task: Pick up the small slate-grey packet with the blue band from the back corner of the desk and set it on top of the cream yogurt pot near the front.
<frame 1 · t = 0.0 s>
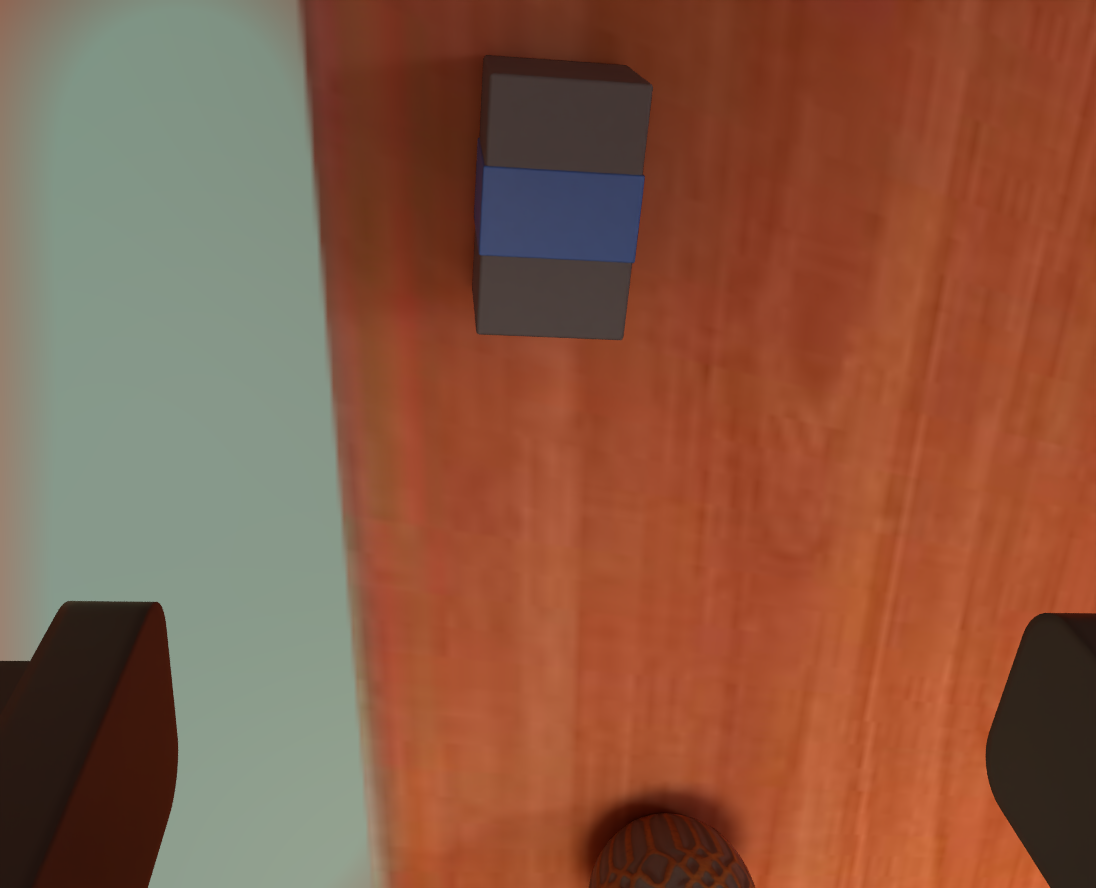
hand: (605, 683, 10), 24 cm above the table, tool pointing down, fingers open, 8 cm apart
vase: (656, 842, 45), on the table
packet: (546, 182, 31), on the table
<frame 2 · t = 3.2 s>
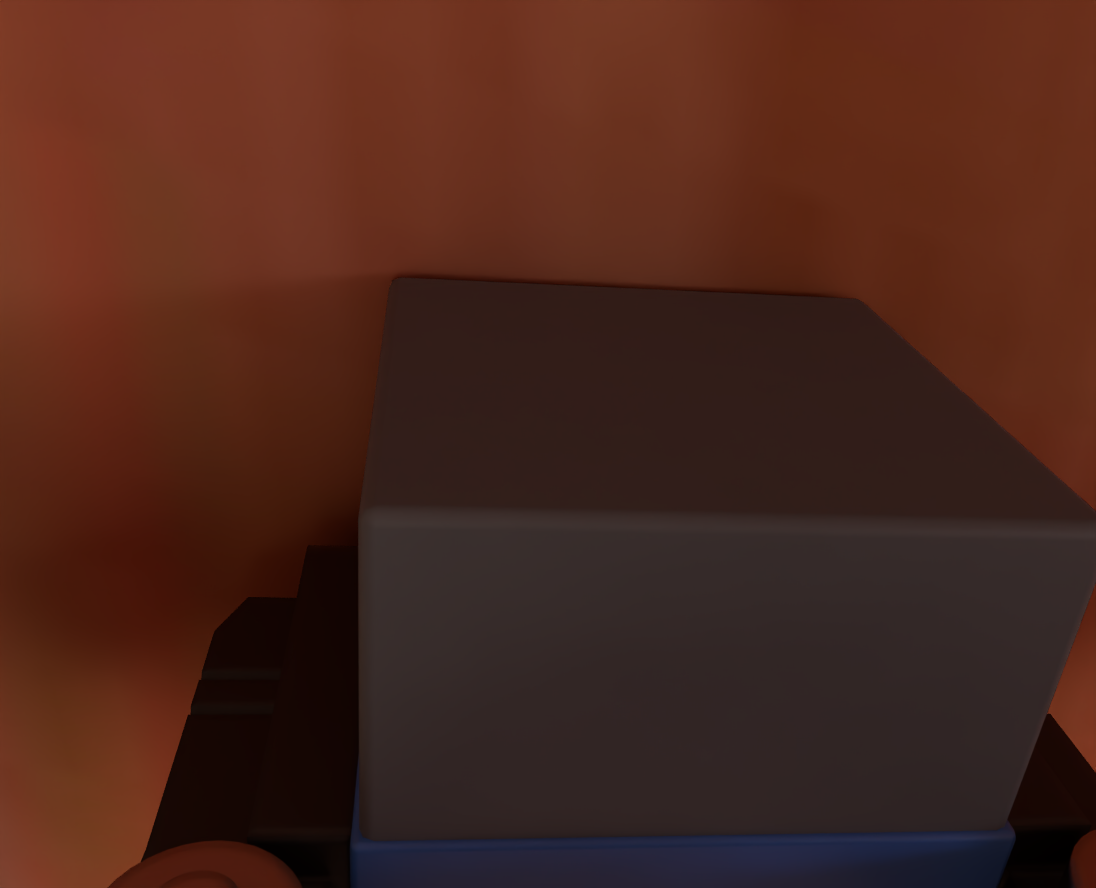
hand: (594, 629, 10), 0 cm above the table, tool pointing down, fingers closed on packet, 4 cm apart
packet: (593, 613, 11), on the table, touching gripper
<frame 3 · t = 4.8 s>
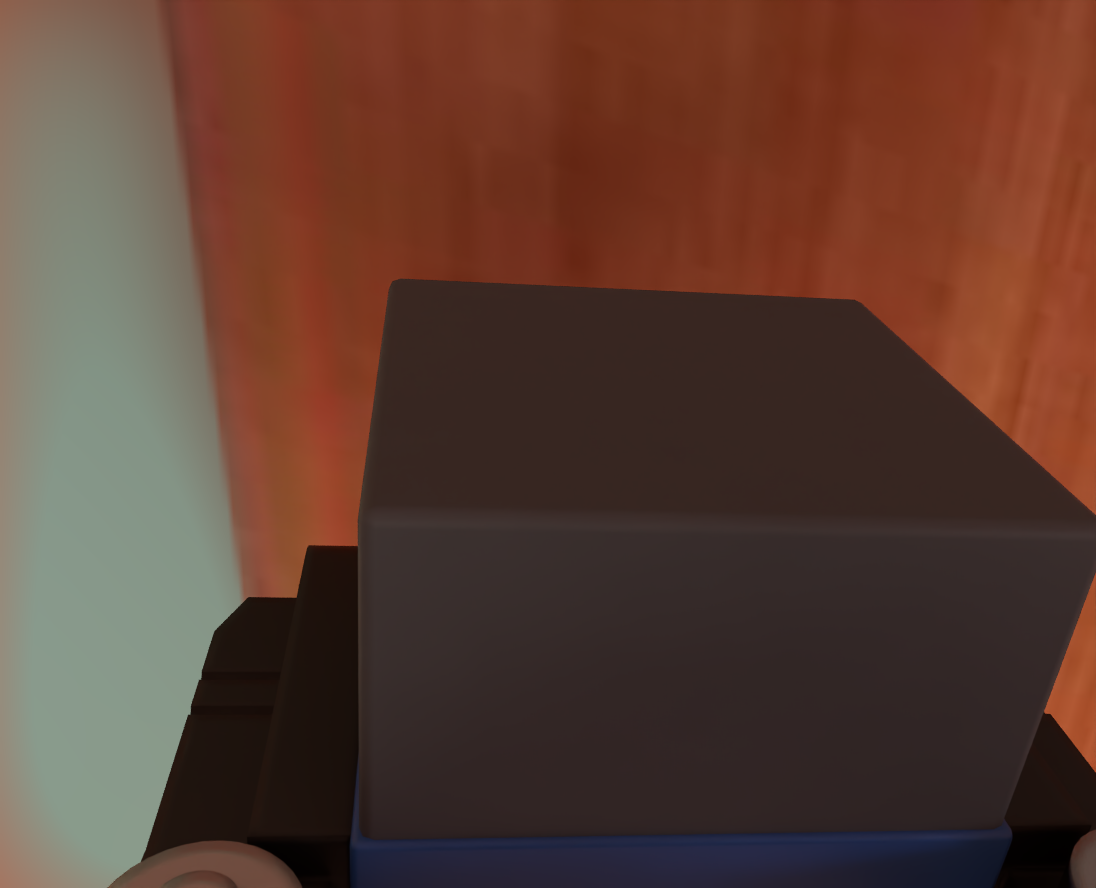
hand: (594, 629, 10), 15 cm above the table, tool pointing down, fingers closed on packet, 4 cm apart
packet: (592, 613, 11), point 14 cm above the table, touching gripper
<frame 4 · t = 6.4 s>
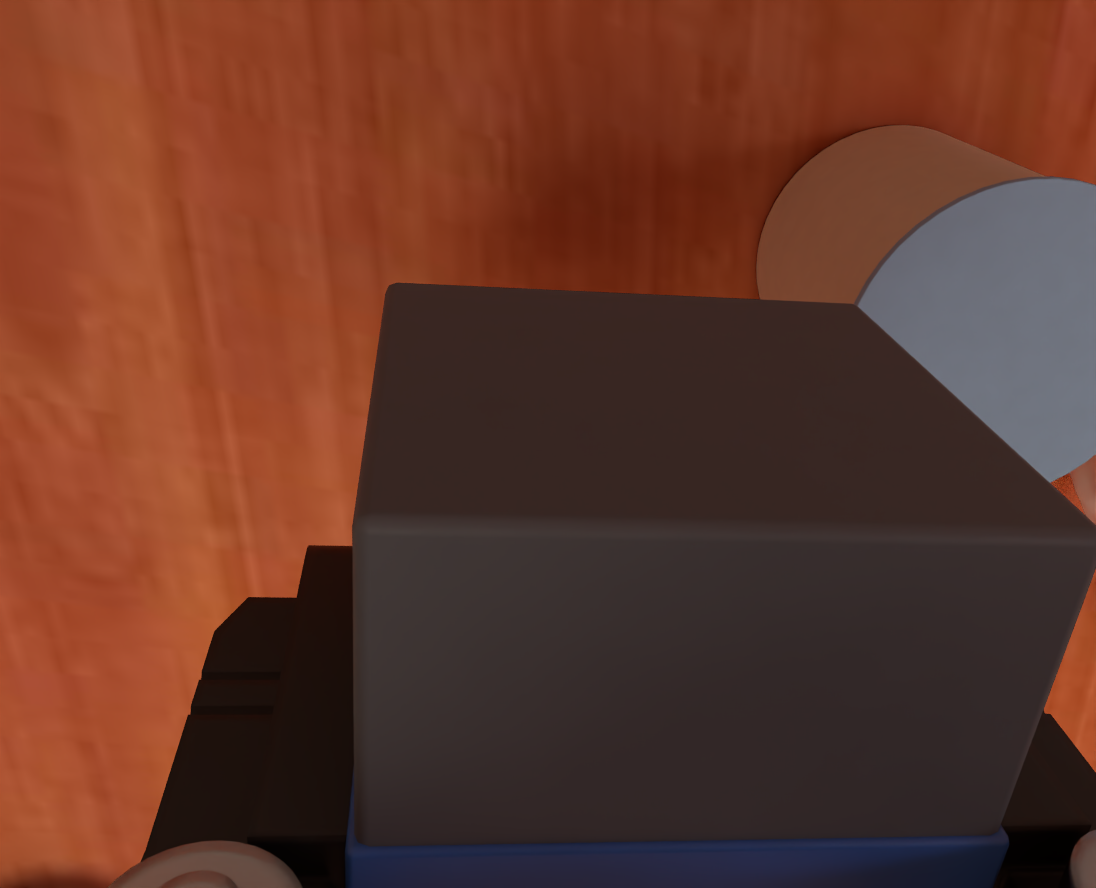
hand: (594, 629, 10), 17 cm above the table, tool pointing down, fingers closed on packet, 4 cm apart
yogurt: (878, 253, 27), on the table
packet: (590, 617, 11), point 17 cm above the table, touching gripper
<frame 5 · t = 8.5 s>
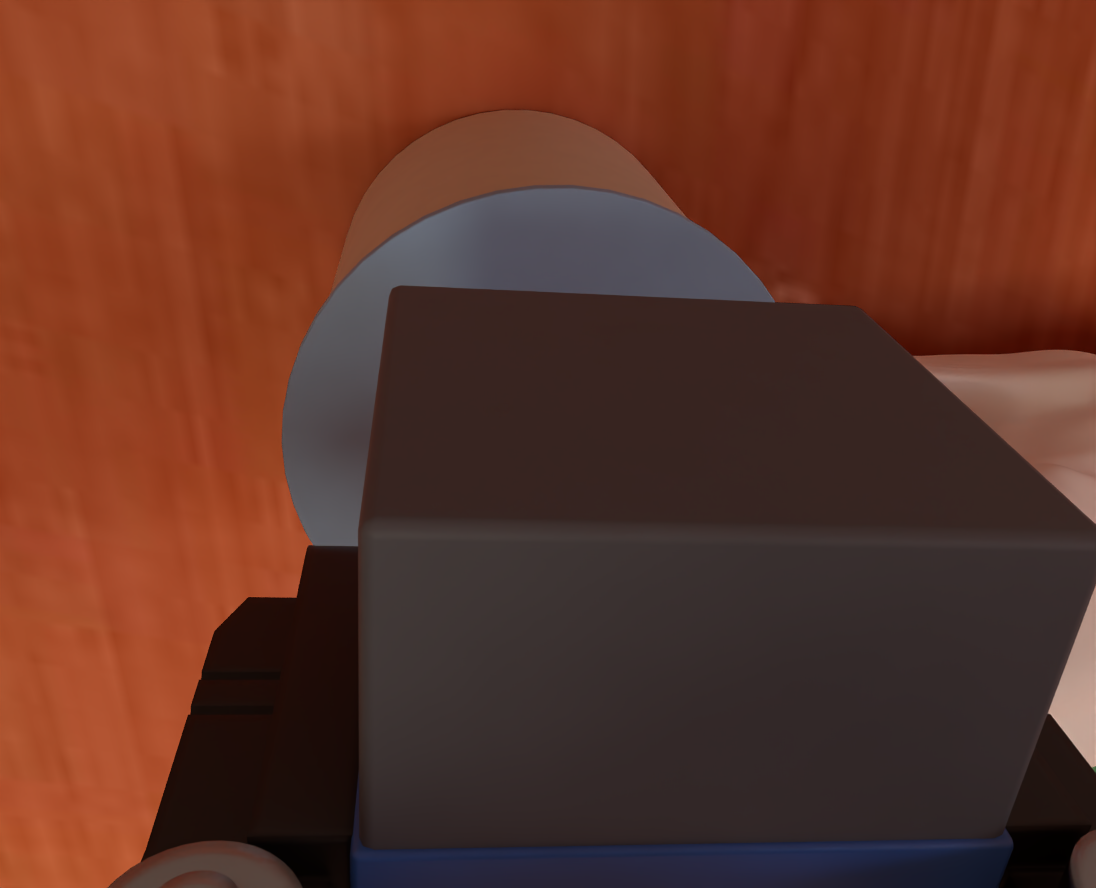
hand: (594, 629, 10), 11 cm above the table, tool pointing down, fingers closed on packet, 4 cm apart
white lumpy elongated piece: (979, 420, 22), on the table
yogurt: (515, 286, 20), on the table
packet: (593, 619, 11), point 11 cm above the table, touching gripper
when the fingers open (7 cm above the table, at t = 9.9 s): packet stays where it is, resting on yogurt.
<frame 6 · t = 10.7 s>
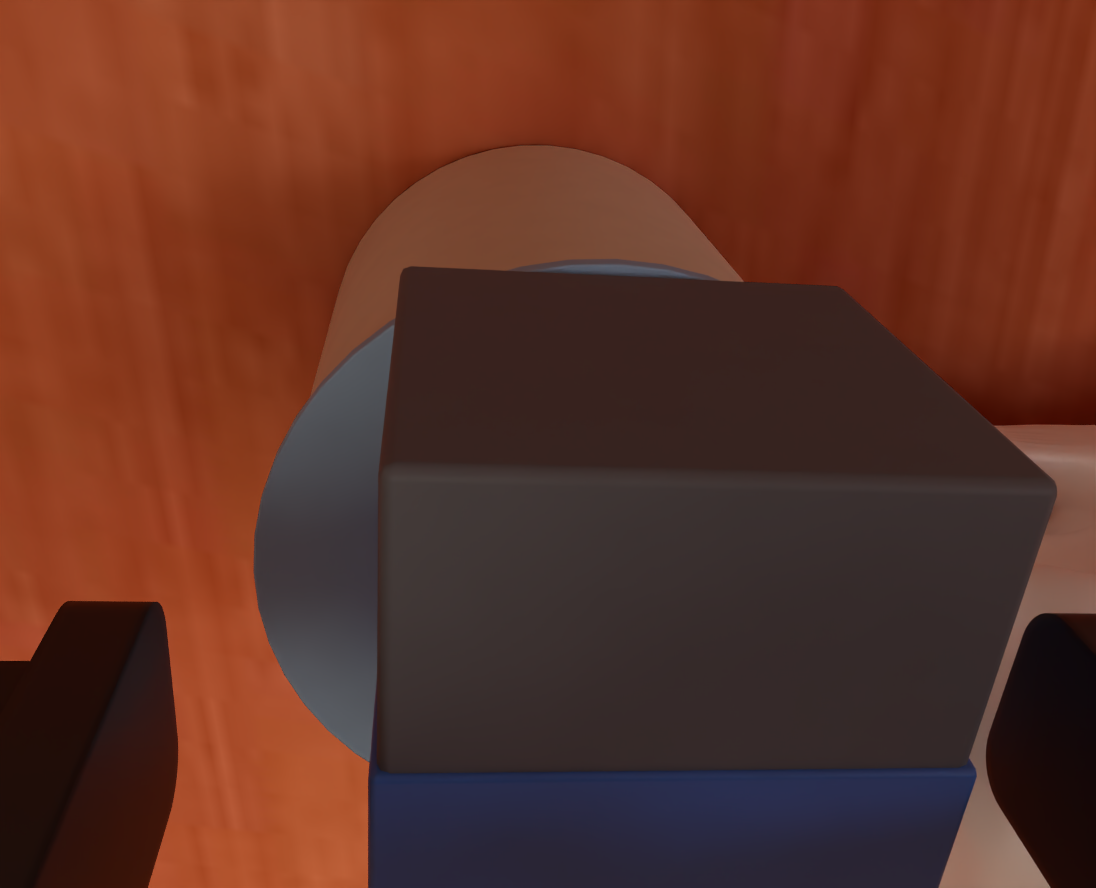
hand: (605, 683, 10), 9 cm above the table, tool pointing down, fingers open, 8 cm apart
white lumpy elongated piece: (1056, 489, 20), on the table
yogurt: (532, 344, 17), on the table, touching packet
packet: (591, 585, 11), point 7 cm above the table, touching yogurt
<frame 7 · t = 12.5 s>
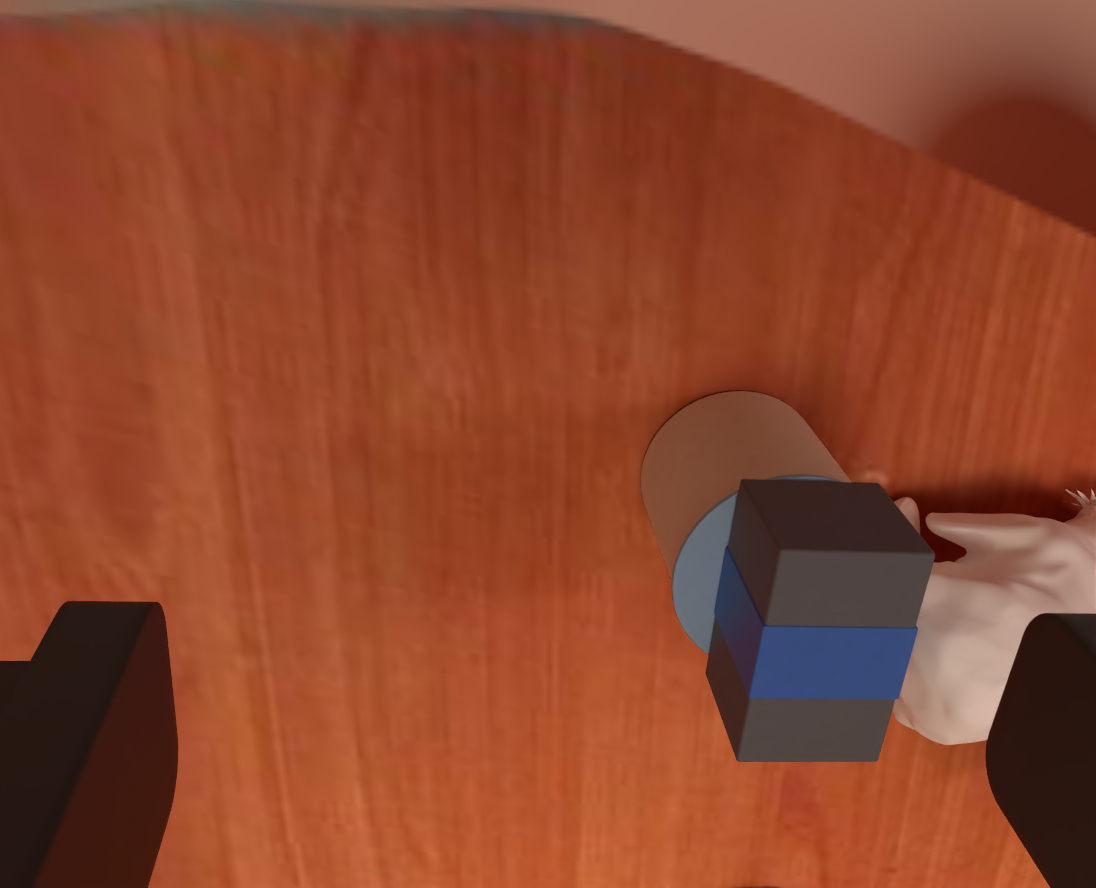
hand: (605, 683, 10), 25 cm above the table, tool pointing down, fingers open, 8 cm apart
white lumpy elongated piece: (976, 540, 40), on the table
yogurt: (729, 473, 38), on the table, touching packet
packet: (788, 581, 32), point 7 cm above the table, touching yogurt
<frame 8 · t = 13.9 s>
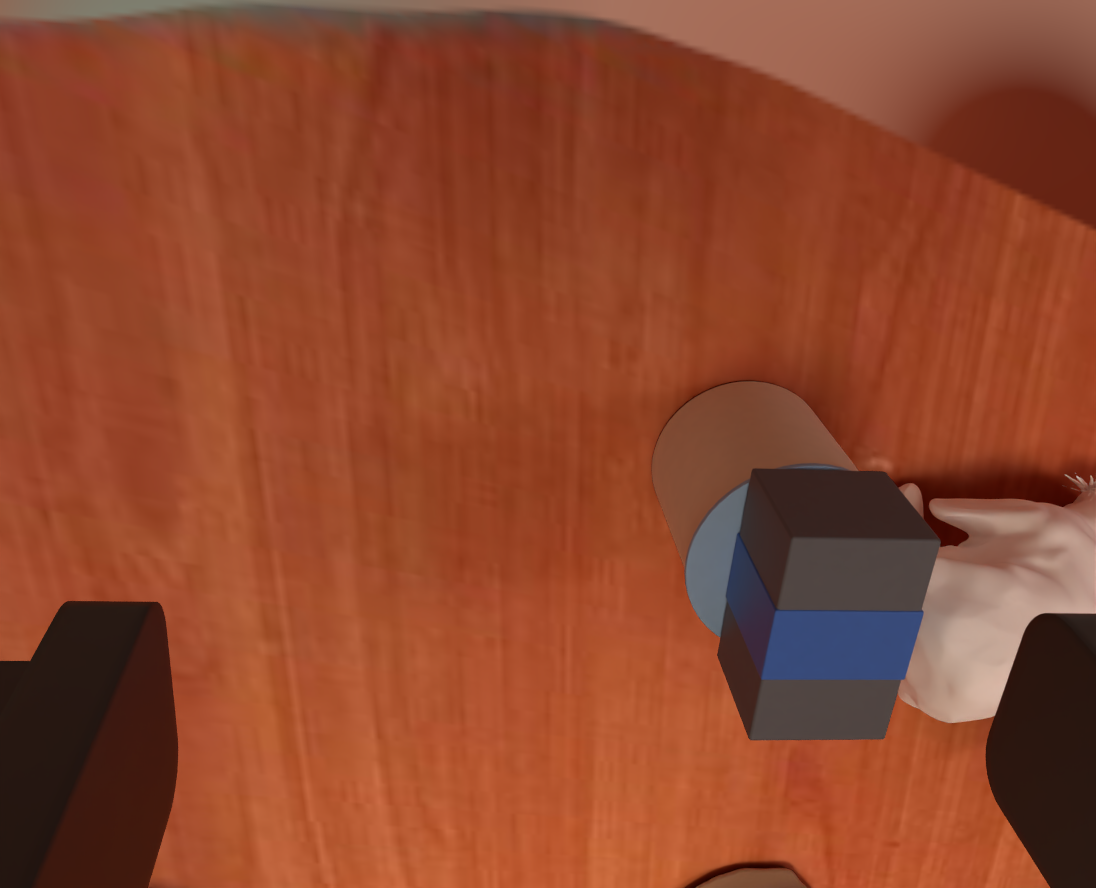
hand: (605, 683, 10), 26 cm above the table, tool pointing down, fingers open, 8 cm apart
white lumpy elongated piece: (977, 524, 41), on the table
yogurt: (738, 461, 39), on the table, touching packet
packet: (797, 566, 33), point 7 cm above the table, touching yogurt
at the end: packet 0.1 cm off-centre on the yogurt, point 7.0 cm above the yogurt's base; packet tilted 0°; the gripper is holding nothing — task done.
